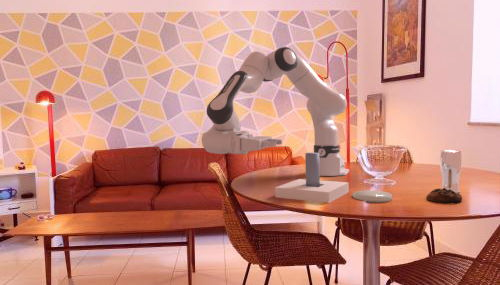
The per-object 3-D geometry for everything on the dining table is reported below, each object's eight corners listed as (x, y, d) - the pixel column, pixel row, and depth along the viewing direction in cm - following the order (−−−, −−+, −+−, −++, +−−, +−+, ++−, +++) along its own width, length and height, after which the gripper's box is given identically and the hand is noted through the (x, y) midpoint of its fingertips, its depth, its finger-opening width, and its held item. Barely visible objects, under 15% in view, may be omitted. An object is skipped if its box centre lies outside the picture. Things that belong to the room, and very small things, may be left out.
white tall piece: (444, 189, 154) (444, 149, 153) (463, 191, 149) (464, 150, 148) (436, 191, 149) (437, 151, 148) (457, 194, 144) (457, 152, 143)
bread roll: (446, 205, 128) (444, 189, 129) (419, 203, 138) (418, 188, 139) (470, 202, 133) (469, 187, 133) (442, 201, 143) (441, 186, 143)
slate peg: (309, 192, 150) (308, 152, 149) (321, 193, 147) (321, 152, 146) (303, 195, 146) (303, 153, 145) (316, 196, 143) (316, 154, 142)
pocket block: (299, 188, 160) (299, 178, 160) (348, 193, 150) (348, 182, 150) (275, 198, 144) (275, 187, 143) (328, 204, 133) (328, 192, 133)
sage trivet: (359, 193, 149) (359, 189, 149) (395, 196, 142) (395, 192, 142) (347, 200, 138) (347, 195, 138) (386, 204, 131) (386, 199, 131)
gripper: (250, 148, 163) (284, 148, 159) (234, 153, 143) (272, 154, 139) (250, 132, 162) (284, 132, 158) (234, 135, 143) (272, 136, 139)
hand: (278, 143), depth 149 cm, fingers open, 8 cm apart
